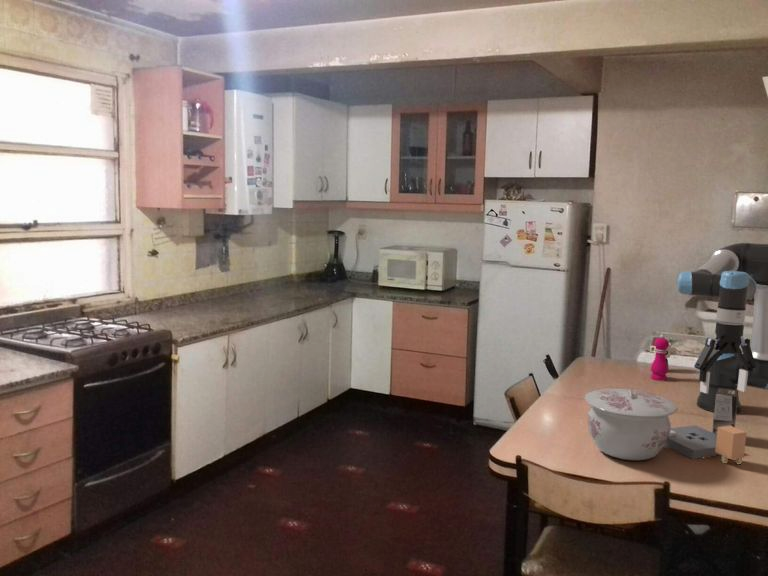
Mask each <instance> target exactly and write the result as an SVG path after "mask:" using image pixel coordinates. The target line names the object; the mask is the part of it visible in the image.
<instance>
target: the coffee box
mask: <svg viewBox="0 0 768 576" xmlns="http://www.w3.org/2000/svg"><path fill="white" fill-rule="evenodd" d="M738 396H739V390H733V389H724V388H718V390H717V392H716V400H715V409H714V412H713V419H712V420H713V422H712V431H711V432H712V433H714V434H717V430H718V427H723V426H732V427H735V428H736V421H737V420H736V419H737V413H736V412H737V401H738Z"/></svg>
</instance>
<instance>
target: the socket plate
mask: <svg viewBox="0 0 768 576" xmlns="http://www.w3.org/2000/svg"><path fill="white" fill-rule="evenodd" d="M716 440H717V434H714V433H712V431H709V430H707V429H706V428H703V427H700V426H698V425H696V424H695V425H686V426H679V427H671V429H670V434H669V437H668V440H667V443H666V444H665V445H664V446H665V447H667V448H668V449H671V450H673V451H674V452H677V453H679V454H681V455H683V456H685V457H687V458H689V459H690V460H693V459H694V460H698V459H697V458H701V459H704V458H703V457H708V458H710V457H709V456H715V457H717V456H716V455H721V454H718V453H716V452H715V450H716Z"/></svg>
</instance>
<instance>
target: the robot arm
mask: <svg viewBox="0 0 768 576" xmlns="http://www.w3.org/2000/svg"><path fill="white" fill-rule="evenodd" d="M677 291H678V292H679V293H680V294H681V295H687V296H696V297H706V298H714V299H718V303H717V311H716V321H717V322H716V323H715V328H714V329H715V331H714V333H715V335H716V337H715V338H710V337H707V338H706V340H705V343H704V347H703V348H702V351H701V352H700V354H699V356H698V358H697V360H696V361H695V364H694V365H693V366H694V368H695V369H696V370H697V369H698V370H699V379H698V380H699V382H700V386H699V392H700V393H699V395H698V397H697V399H696V405H697V406H698V407H699V408H701V409H703V410H706V411H709V412H712V413H714V409H715V400H716V392H717V390H718V388H724V389H733V390H738V392H739V391H740V392H743V393H746V392H747V387H751V388H756V389H761V390H764V391H765V390H768V243H752V242H751V243H749V242H740V243H739V242H738V243H733V244H729V245H726V246H724V247H722V248H720V249H718V250H716V251H714V253H713V254H712V255H711V257H710V258H709V260H707V262H705V263H704V264H703V265H701V266H700V267H698V268H697V269H696V270H695V271H691V270H689V271H687V270H686V271H682V272H680V273H679V276H678V279H677ZM753 297H754V298H753ZM752 298H753V299H754V301H753V314H752V329H751V330H752V331H751V339H749V338H746V337H744V330H745V329H744V328H745V326H744V323H745V318H746V310H747V302H748V301H749V300H750V299H752ZM740 347H741V348H740ZM741 409H742V404H741V401H740V396H739V395H738V401H737V412H738V413H739V412H741ZM737 412H736V414H737Z"/></svg>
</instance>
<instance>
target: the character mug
mask: <svg viewBox="0 0 768 576" xmlns="http://www.w3.org/2000/svg"><path fill="white" fill-rule="evenodd" d="M655 348H656V347H655V346H654V345H650V346H649V352H650V353H651V354H652V353H653V356H654V357H655V356H656V352H655ZM671 356H676V348H675V347H674V348H673V347H672V343H670V342H669V346H668V348H667V353H666V357H665V359H666V363H667V365H668V366H669V358H671Z"/></svg>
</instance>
